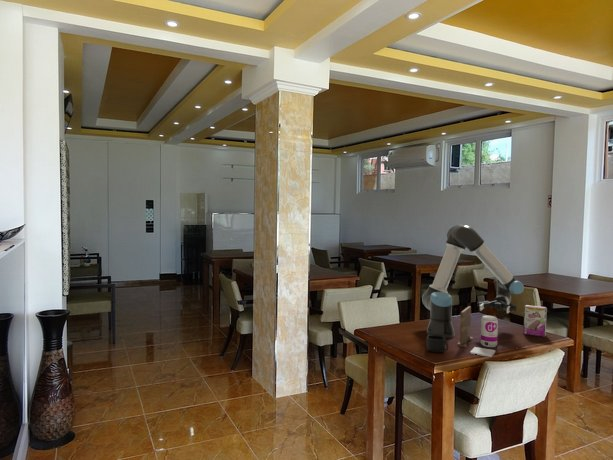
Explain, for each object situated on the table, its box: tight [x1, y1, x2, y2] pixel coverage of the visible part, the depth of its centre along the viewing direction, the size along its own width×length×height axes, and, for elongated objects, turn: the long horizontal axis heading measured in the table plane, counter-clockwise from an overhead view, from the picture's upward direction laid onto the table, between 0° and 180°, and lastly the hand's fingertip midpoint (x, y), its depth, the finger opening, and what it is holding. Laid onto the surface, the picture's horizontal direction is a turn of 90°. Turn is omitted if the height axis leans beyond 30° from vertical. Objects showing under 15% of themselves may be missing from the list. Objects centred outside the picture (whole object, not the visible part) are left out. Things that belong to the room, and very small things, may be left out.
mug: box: [426, 334, 449, 353], centre depth 223 cm, size 12×9×7 cm
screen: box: [456, 305, 474, 348], centre depth 239 cm, size 4×18×18 cm, turn 147°
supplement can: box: [480, 314, 499, 348], centre depth 235 cm, size 8×8×15 cm
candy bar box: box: [523, 304, 548, 338], centre depth 256 cm, size 11×5×16 cm, turn 58°
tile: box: [469, 346, 496, 358], centre depth 223 cm, size 10×10×1 cm
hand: (493, 309), depth 242 cm, fingers open, 13 cm apart
